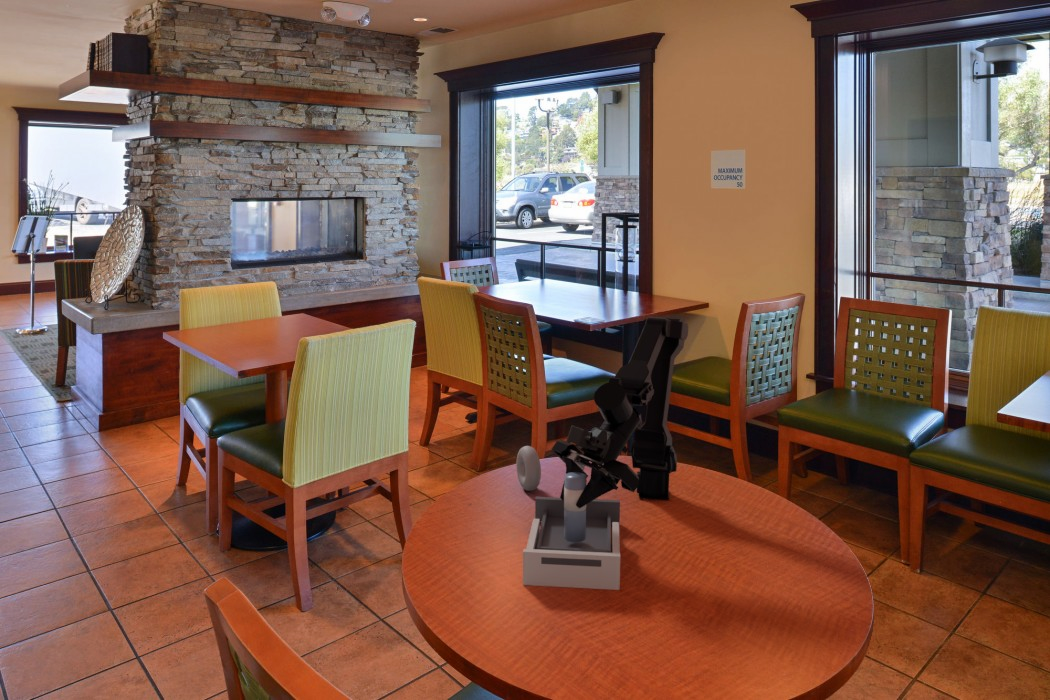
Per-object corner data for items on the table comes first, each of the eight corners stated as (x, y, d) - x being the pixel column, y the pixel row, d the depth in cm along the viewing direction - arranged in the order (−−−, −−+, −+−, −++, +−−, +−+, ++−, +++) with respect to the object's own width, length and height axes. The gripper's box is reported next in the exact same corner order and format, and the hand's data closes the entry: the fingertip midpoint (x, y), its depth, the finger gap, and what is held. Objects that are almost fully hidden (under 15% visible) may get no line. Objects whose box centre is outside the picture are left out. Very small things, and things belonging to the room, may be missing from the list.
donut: (543, 496, 172) (543, 453, 170) (528, 498, 171) (528, 454, 169) (528, 481, 181) (528, 439, 179) (514, 482, 180) (514, 440, 178)
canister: (586, 533, 148) (587, 472, 145) (585, 542, 144) (586, 480, 141) (564, 532, 148) (564, 471, 146) (563, 541, 144) (563, 479, 142)
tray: (535, 518, 159) (535, 496, 159) (619, 522, 158) (620, 500, 157) (526, 560, 142) (526, 535, 141) (620, 564, 140) (621, 540, 139)
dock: (533, 538, 151) (533, 508, 150) (618, 542, 150) (619, 512, 148) (522, 584, 133) (522, 551, 132) (619, 589, 132) (620, 556, 130)
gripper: (559, 398, 151) (513, 466, 146) (629, 421, 136) (581, 496, 132) (589, 430, 157) (546, 496, 152) (659, 455, 142) (614, 528, 138)
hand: (569, 503), depth 144 cm, fingers closed on canister, 4 cm apart
